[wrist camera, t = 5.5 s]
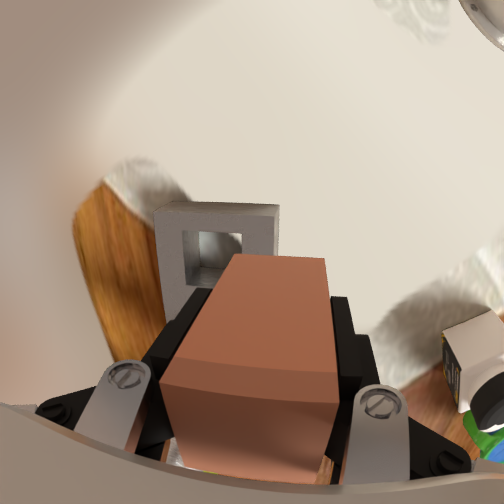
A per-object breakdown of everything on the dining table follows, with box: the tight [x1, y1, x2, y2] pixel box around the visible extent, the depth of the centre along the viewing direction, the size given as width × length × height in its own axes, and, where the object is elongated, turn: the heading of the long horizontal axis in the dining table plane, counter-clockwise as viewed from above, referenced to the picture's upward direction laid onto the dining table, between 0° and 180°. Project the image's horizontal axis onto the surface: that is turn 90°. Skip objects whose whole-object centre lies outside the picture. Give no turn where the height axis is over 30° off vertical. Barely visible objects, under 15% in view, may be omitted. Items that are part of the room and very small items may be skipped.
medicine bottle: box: [441, 310, 504, 432], centre depth 23 cm, size 7×7×12 cm
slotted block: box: [153, 201, 279, 472], centre depth 21 cm, size 18×10×22 cm, turn 0°
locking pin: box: [159, 254, 339, 483], centre depth 10 cm, size 4×4×8 cm
